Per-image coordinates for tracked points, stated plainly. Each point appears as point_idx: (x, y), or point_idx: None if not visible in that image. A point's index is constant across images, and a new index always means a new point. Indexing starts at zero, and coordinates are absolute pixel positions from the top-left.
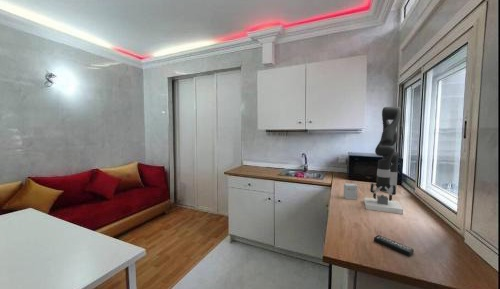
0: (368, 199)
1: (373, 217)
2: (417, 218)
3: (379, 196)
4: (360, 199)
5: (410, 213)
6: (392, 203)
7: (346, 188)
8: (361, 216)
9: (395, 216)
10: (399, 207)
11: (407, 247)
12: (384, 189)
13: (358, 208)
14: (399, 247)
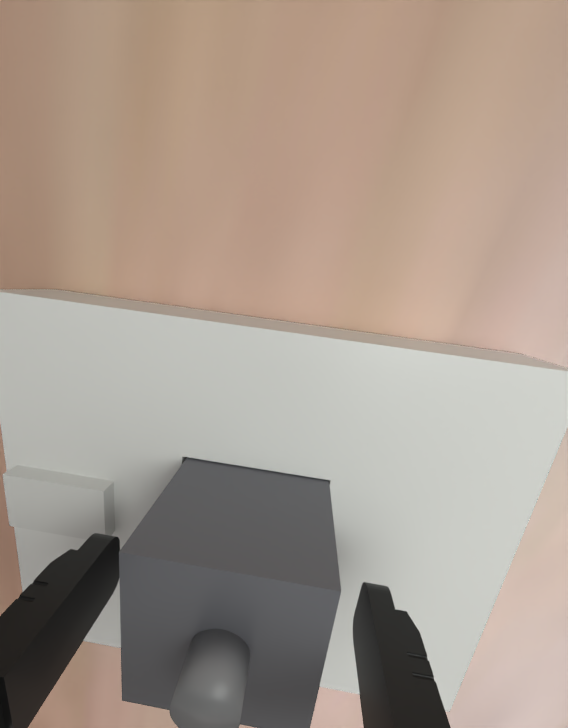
0: (56, 410)
1: (126, 723)
2: (517, 706)
3: (155, 638)
4: (2, 191)
5: (528, 607)
6: (410, 527)
7: None
8: (39, 716)
9: (319, 690)
10: (435, 664)
11: None
12: None
13: (5, 565)
14: None
